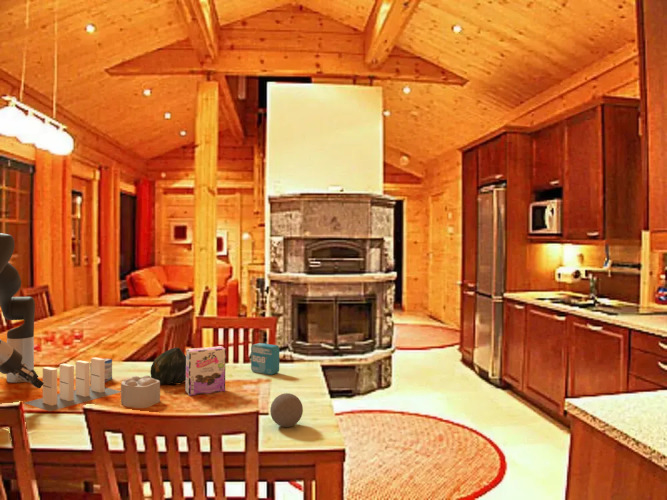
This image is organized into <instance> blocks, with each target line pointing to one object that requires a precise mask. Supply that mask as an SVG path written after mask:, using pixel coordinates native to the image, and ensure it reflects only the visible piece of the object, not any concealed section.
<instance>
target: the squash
mask: <svg viewBox="0 0 667 500" xmlns="http://www.w3.org/2000/svg"><path fill="white" fill-rule="evenodd" d="M149 372H150V377H151V378H154V379H156V380H159V381H160V386H163V385H166V384H167V385H171V384H175V385H176V384H177V385H180V384H181V385H182V384H183V383H184V382H186V353H184V352H183V350H182V349H181V348H179V347H173V348H170V349H168V350H166V351H164V352H162V353H161V354H159V355H158V356H157V357H156V358H155V359H154V360H153V362H152V364H151V365H150V371H149Z"/></svg>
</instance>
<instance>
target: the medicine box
mask: <svg viewBox="0 0 667 500" xmlns="http://www.w3.org/2000/svg"><path fill="white" fill-rule="evenodd" d="M104 359H105V383H106V382H108V381H110V380H113V359H111V358H104ZM90 384H91V362H90Z"/></svg>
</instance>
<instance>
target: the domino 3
mask: <svg viewBox="0 0 667 500" xmlns="http://www.w3.org/2000/svg"><path fill="white" fill-rule="evenodd" d="M90 363H91V361H84V360H76V361H75V390H76V394H77V395H80V396H84V397H86V396H90V386H91V383H90Z"/></svg>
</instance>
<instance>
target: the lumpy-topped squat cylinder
mask: <svg viewBox="0 0 667 500" xmlns="http://www.w3.org/2000/svg"><path fill="white" fill-rule="evenodd" d="M120 391H121V392H120V403H121V405H122V406H124V407H126V408H127V407H128V408H133V409H134V408H135V409H146V408H150V407H151V406H153V405H156V404H159V403H160V402H161V384H160V381H159V380H156V379H154V378H151V375H148V374H147V375H146V374H145V375H143V376H142V377H140V376H138V375H134V376H132V377H129V378H126V379H124V380H122V381H121V383H120Z"/></svg>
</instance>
